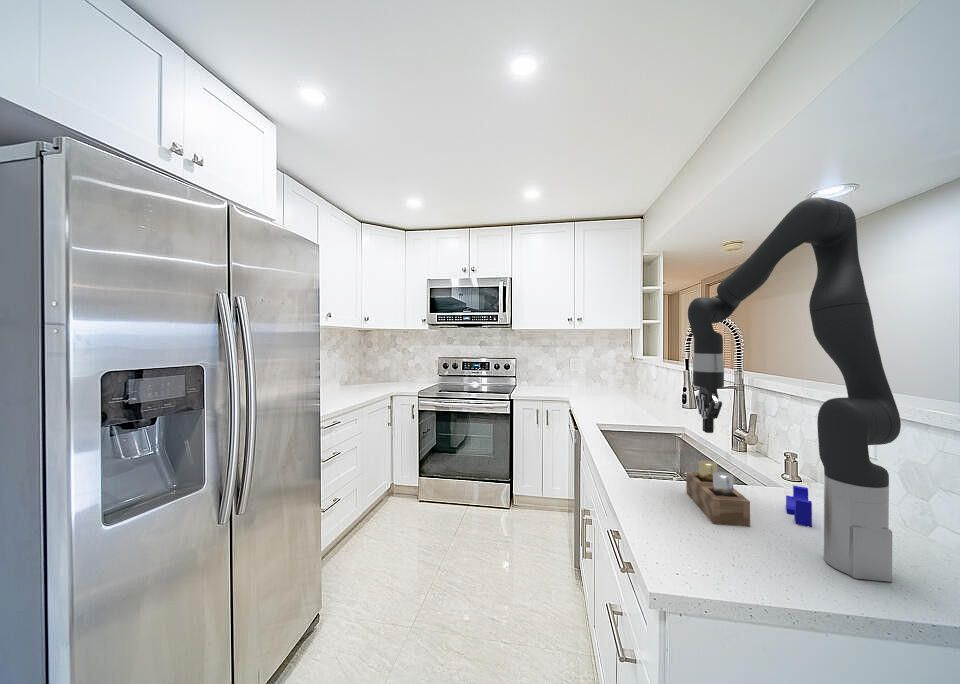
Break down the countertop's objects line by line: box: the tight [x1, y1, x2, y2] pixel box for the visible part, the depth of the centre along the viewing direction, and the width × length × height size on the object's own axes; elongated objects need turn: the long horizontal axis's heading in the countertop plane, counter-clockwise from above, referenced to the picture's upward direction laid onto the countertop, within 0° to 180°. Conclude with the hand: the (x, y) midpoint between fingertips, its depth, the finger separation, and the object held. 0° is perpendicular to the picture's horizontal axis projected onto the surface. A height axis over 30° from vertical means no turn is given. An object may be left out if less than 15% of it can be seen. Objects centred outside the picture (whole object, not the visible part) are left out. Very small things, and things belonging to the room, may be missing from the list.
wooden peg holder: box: [685, 471, 751, 528], centre depth 105 cm, size 20×8×6 cm, turn 170°
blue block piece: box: [785, 485, 813, 528], centre depth 101 cm, size 12×4×6 cm, turn 144°
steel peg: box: [713, 471, 734, 497], centre depth 101 cm, size 4×4×6 cm
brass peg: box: [698, 459, 718, 482], centre depth 110 cm, size 4×4×6 cm
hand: (708, 432), depth 110 cm, fingers closed
